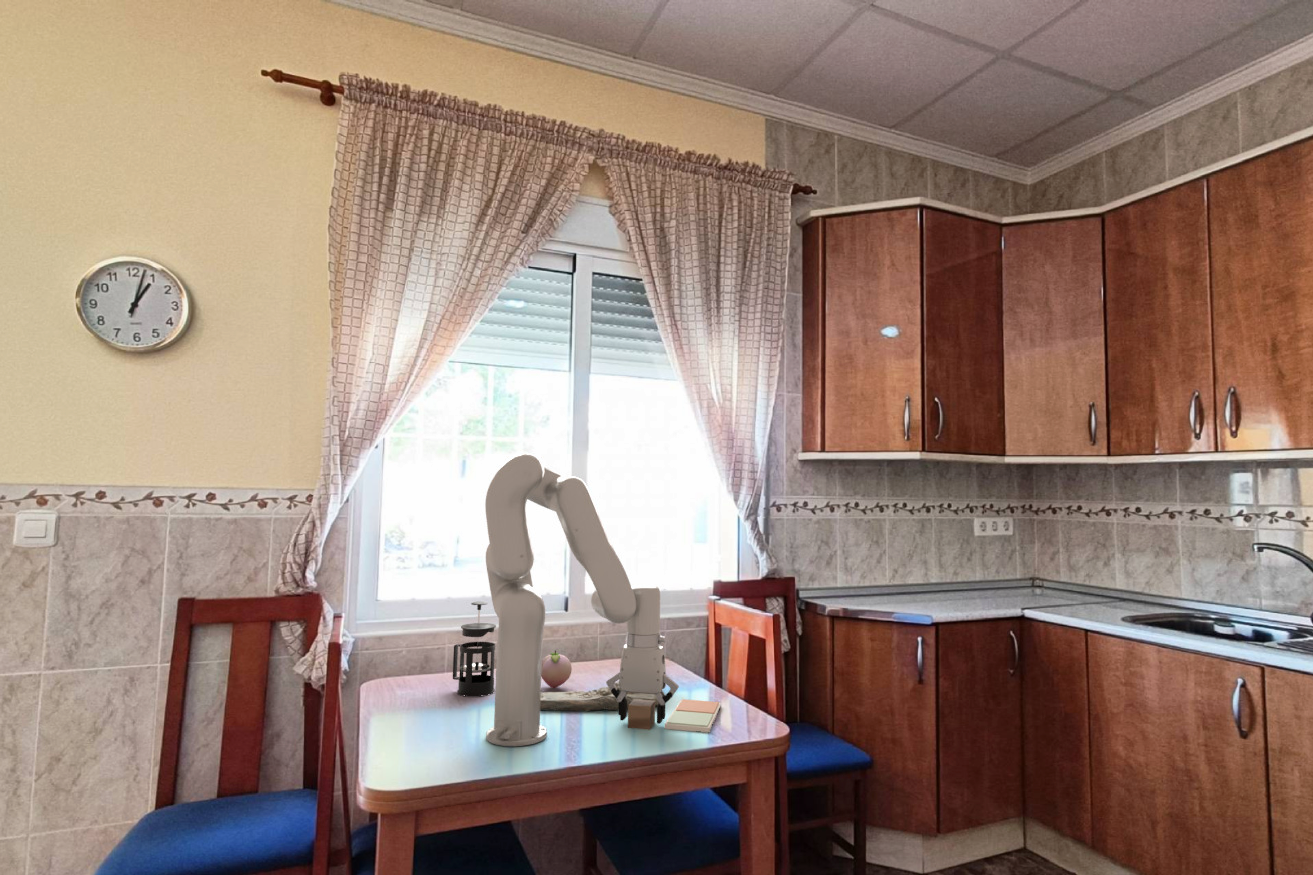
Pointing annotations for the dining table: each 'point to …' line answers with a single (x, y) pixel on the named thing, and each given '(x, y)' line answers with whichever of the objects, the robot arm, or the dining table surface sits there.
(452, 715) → the dining table surface
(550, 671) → the decorative fruit
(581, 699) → the elongated rock
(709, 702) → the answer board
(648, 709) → the walnut cube
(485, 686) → the french press
